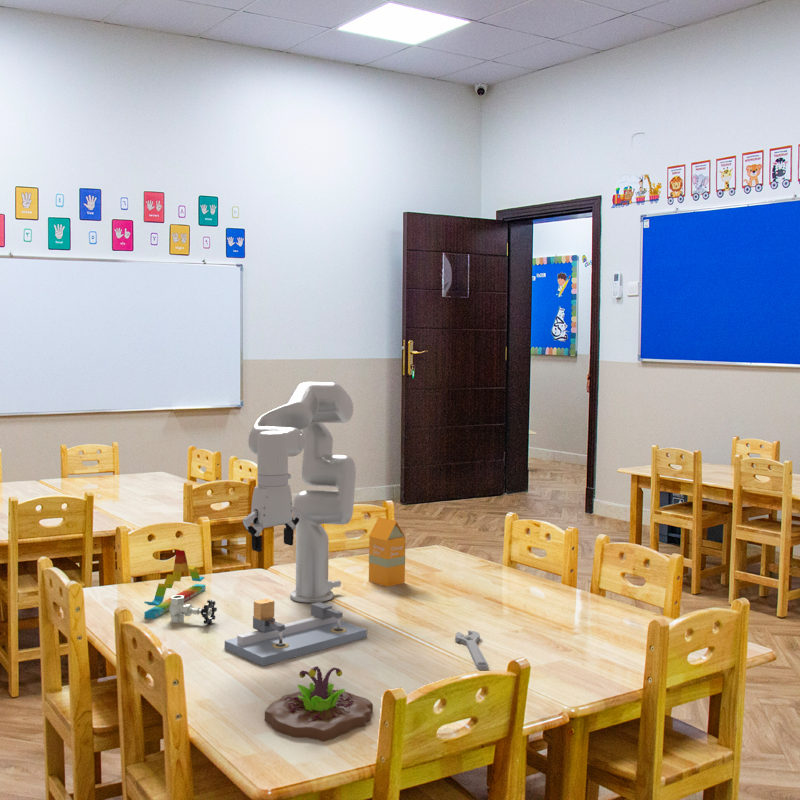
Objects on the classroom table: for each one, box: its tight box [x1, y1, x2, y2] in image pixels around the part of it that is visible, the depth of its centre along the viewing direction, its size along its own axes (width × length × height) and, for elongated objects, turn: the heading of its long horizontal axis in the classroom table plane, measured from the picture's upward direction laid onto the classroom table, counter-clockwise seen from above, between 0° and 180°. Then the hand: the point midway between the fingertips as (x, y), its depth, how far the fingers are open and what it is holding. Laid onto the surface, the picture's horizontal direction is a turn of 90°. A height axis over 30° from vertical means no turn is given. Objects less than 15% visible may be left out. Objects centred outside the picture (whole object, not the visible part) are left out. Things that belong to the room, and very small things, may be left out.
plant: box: [264, 665, 374, 742], centre depth 180 cm, size 20×20×11 cm
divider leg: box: [252, 598, 285, 643], centre depth 220 cm, size 4×10×9 cm, turn 44°
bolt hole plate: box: [224, 602, 368, 667], centre depth 225 cm, size 32×16×7 cm, turn 134°
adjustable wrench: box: [454, 630, 489, 671], centre depth 221 cm, size 25×6×2 cm, turn 1°
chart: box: [143, 549, 206, 620], centre depth 258 cm, size 30×3×15 cm, turn 166°
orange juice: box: [368, 516, 406, 588], centre depth 285 cm, size 8×9×20 cm
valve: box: [168, 594, 218, 626], centre depth 241 cm, size 7×7×12 cm
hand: (272, 547), depth 228 cm, fingers open, 9 cm apart
